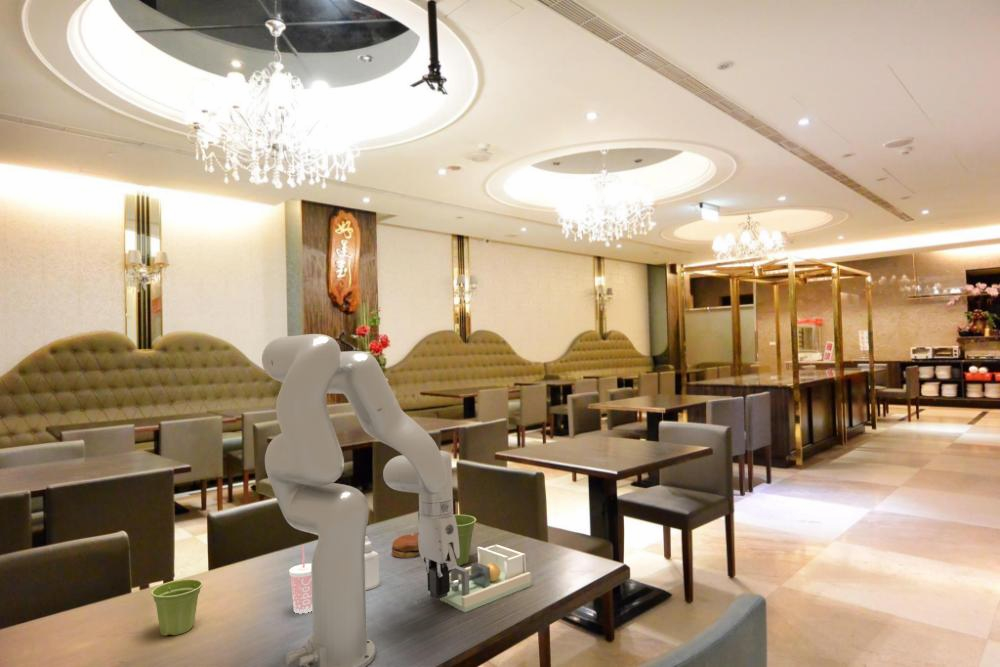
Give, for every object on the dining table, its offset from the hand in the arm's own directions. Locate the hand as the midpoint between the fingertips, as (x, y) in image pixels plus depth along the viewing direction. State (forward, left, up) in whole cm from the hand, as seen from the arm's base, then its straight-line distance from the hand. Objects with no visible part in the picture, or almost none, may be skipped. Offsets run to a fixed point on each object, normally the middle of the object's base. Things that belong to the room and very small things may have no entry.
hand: (438, 590), depth 127 cm
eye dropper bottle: (-6, +21, -3) cm, 22 cm away
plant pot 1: (-45, +30, -3) cm, 54 cm away
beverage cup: (-22, +20, -3) cm, 30 cm away
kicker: (+6, 0, -2) cm, 6 cm away
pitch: (+12, 0, -3) cm, 12 cm away
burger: (+14, +35, -4) cm, 38 cm away
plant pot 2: (+19, +19, -3) cm, 27 cm away
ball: (+16, 0, 0) cm, 16 cm away
